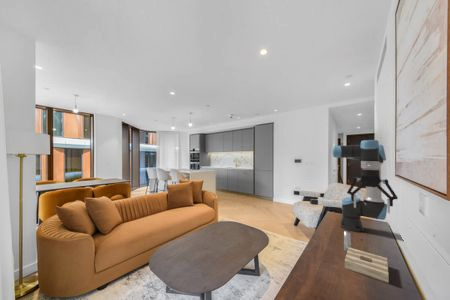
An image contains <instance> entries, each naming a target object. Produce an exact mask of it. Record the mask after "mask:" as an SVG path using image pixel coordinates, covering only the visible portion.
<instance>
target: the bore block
mask: <svg viewBox="0 0 450 300" xmlns="http://www.w3.org/2000/svg"><path fill="white" fill-rule="evenodd" d="M344 269H347V270H350V271H351V272H352V271H353V272H354V273H358V274H360V275H363V276H366V277H369V278H372V279H375V280H377V281H381V282H383V283H386V284H389V282H390V281H389V265H388V258H387V257H384V256H381V255H377V254H374V253H370V252H367V251H363V250H359V249H355V248H353V247H351V248H348V251H347V252H346V255H345V259H344Z"/></svg>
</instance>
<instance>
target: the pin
mask: <svg viewBox="0 0 450 300" xmlns="http://www.w3.org/2000/svg"><path fill="white" fill-rule="evenodd" d="M351 239H352V238H351V232H350V231H349V230H344V231H343V251H344V252H345V253H347V251H348V248H352V246H351V245H352V244H351V243H352V241H351Z"/></svg>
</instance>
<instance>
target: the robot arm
mask: <svg viewBox="0 0 450 300" xmlns="http://www.w3.org/2000/svg"><path fill="white" fill-rule="evenodd" d="M385 152H386V151H385V148H384V145H382V144H380V143H379V140H378V139H368V140H367V139H364V140H361V142H360V144H356V145H355V144H353V145H352V144H351V145H334V146H333V147H332V156H333V158H336V159H337V158H338V159H340V158H341V159H344V158H346V159H348V160H349V159H350V160H355V161H360V169H361V170H360V172H361V174H360V176H361V177H360V178H359V177H356V176H355V177H354V178H353V181H352V183H351V185H350V187H349V189H347V192H346V193H347V194H349V195H350V196H351V197H349V196H348V197H344V198H342V199H341V208H342V211H341V213H342V215H341V219H340V222H339V227H340V228H342V229H344V230H345V231H349V232H350V231H351V232H357V233H359V232H364V228H365V227H364V224H363V222H362V218H361V217H364V218H368V219H369V218H370V219H374V220H381V221H384V220H385V219H386V217H387V213H388V214H391V207H393V206H394V200H398V199H399V198H398V196H397V195H396V192H395V191H394V190H393V188H392V187H391V185H390V184H389V183H390V182H389V181H388V179H387V178H385V179H382V170H381V168H382V165H383V164H384V161H387V157H386V153H385ZM358 182H361V184H360V185H359V186H358V187H357V188H356V189H354V187H355V185H356V184H357V183H358ZM382 184H384V185H385V186H386V187H387V189H388V191H389V193H390V194H389V193H388V191H386V190H385V189H384V188H383V187H382ZM364 187H365V197H363V200H362V199H360V197H357V195H356V193H357V192H359V191H360V190H361V189H363V188H364ZM353 189H354V190H353ZM382 194H384V195H385V196H386V197H387V198H386V199H387V201H386V202H387V203H385V200H384V199H383V198H382ZM391 195H392V196H391Z"/></svg>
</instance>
